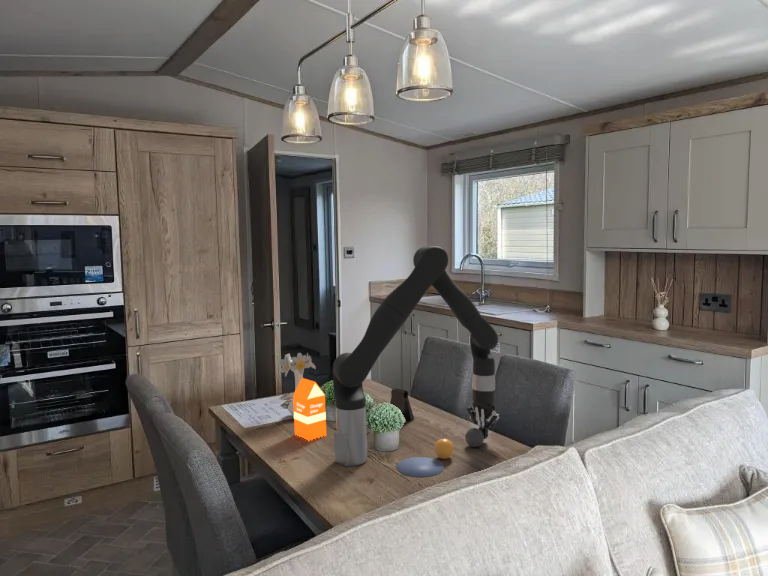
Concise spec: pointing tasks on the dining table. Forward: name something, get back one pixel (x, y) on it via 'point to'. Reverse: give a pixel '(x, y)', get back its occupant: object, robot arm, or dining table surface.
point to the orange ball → (444, 448)
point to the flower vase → (295, 370)
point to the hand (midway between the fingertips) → (483, 438)
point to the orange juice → (309, 410)
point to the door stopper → (402, 403)
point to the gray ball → (474, 437)
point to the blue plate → (420, 467)
